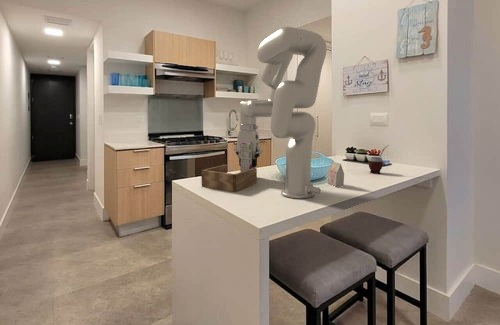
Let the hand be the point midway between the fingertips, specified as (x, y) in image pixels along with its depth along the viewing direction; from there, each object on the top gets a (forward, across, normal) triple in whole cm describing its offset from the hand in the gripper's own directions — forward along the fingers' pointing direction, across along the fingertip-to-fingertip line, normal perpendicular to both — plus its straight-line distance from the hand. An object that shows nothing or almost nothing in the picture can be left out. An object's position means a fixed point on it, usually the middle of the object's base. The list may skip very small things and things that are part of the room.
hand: (247, 166), depth 145 cm
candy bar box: (+5, 0, 0) cm, 5 cm away
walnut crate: (+6, 0, +15) cm, 16 cm away
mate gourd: (+7, -49, -48) cm, 69 cm away
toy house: (+7, -39, -10) cm, 41 cm away
